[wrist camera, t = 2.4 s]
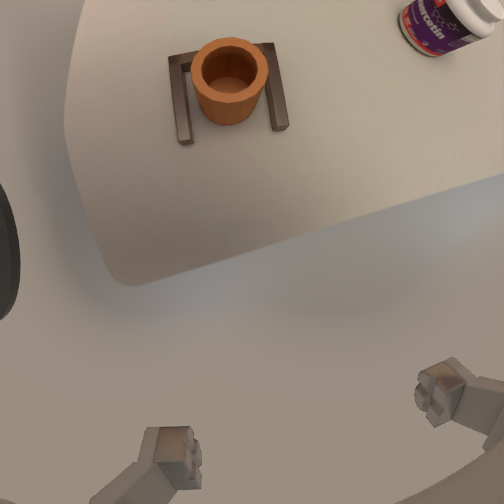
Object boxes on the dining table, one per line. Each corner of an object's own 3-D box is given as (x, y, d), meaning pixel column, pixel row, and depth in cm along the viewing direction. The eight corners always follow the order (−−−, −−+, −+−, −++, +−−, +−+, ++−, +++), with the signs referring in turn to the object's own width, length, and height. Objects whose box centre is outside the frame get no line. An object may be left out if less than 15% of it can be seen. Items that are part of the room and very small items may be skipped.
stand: (182, 145, 28) (178, 142, 25) (171, 65, 25) (168, 56, 23) (284, 130, 28) (289, 125, 26) (270, 51, 26) (273, 42, 23)
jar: (203, 129, 27) (195, 108, 19) (197, 80, 26) (187, 43, 17) (259, 121, 28) (273, 98, 19) (251, 72, 26) (261, 34, 18)
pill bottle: (386, 8, 25) (447, -41, 11) (426, 11, 25) (487, -25, 11) (412, 59, 27) (487, 24, 13) (450, 59, 27) (520, 33, 13)
